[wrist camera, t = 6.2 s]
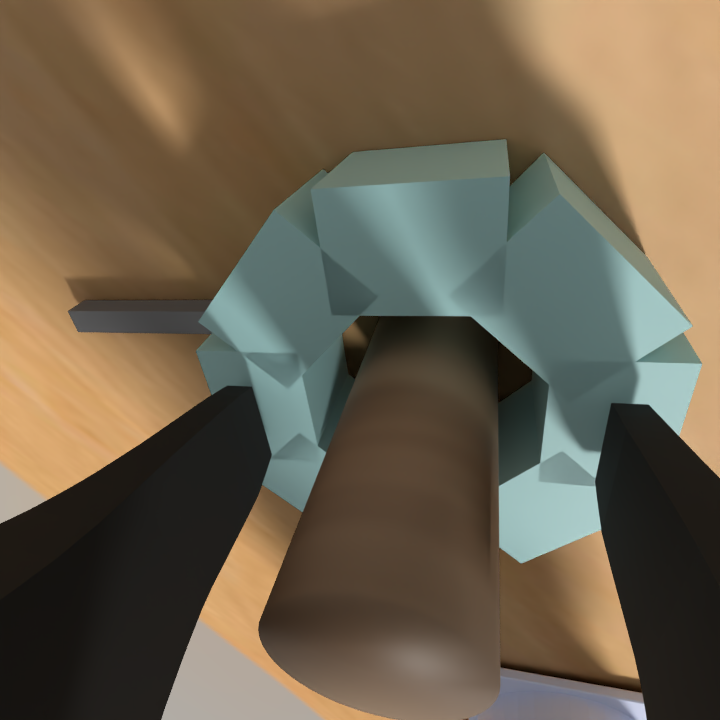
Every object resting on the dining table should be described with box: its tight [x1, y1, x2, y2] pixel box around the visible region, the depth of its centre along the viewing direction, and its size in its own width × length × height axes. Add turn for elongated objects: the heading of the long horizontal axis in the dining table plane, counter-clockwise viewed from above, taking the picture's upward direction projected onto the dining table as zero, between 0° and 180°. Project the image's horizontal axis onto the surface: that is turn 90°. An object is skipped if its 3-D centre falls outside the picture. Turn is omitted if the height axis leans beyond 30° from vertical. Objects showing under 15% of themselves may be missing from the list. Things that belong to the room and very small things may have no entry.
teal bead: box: [196, 139, 702, 563], centre depth 12 cm, size 10×10×3 cm
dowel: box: [258, 316, 500, 720], centre depth 10 cm, size 3×3×8 cm
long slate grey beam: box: [68, 300, 212, 334], centre depth 14 cm, size 1×6×1 cm, turn 97°
